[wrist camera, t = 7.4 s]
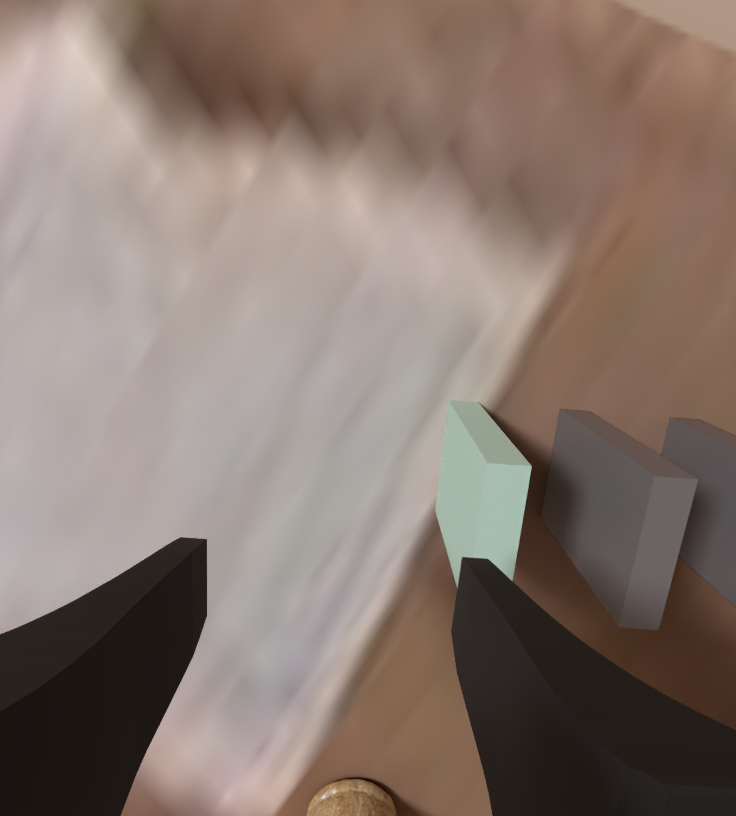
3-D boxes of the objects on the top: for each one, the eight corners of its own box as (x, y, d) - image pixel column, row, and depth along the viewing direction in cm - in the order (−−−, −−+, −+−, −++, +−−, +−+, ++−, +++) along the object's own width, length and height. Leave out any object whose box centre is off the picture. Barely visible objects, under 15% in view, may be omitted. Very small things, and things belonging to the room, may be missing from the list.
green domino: (435, 509, 22) (465, 616, 15) (448, 399, 21) (487, 463, 14) (463, 511, 22) (506, 619, 15) (477, 402, 21) (531, 466, 14)
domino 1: (589, 411, 21) (698, 479, 14) (568, 519, 22) (658, 630, 15) (559, 408, 21) (654, 476, 14) (540, 517, 22) (618, 627, 15)
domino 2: (699, 419, 21) (860, 491, 14) (672, 526, 22) (807, 640, 15) (670, 417, 21) (817, 487, 14) (644, 524, 22) (768, 637, 15)
